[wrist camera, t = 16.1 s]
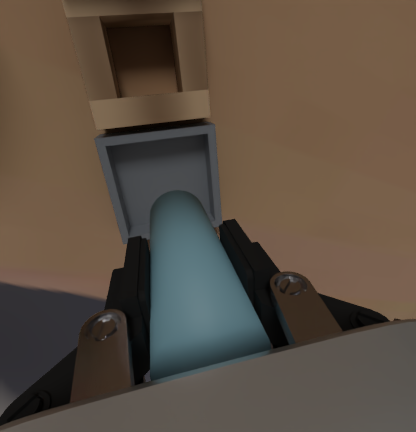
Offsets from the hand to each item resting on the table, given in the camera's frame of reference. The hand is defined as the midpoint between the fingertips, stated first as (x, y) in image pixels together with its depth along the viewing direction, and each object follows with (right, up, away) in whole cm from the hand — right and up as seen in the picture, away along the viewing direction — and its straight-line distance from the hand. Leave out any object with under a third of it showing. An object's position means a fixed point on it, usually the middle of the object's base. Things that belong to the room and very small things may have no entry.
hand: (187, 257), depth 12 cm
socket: (-4, +13, +7) cm, 16 cm away
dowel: (-1, +2, +4) cm, 5 cm away
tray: (-3, +5, +11) cm, 13 cm away
